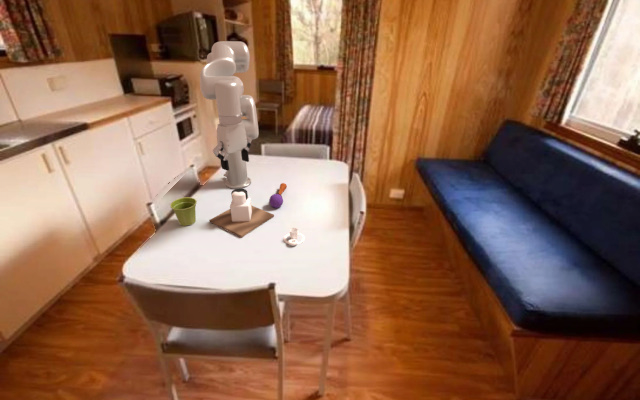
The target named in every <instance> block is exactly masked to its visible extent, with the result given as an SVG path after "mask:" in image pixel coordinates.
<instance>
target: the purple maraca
mask: <svg viewBox="0 0 640 400" xmlns="http://www.w3.org/2000/svg"><path fill="white" fill-rule="evenodd" d="M286 189H287V184H286V183H285V182H281V183H280V185H279V188H278V192H277V193H274V194H272V195H270V197H269V199H268V203H269V205H270V206H271V207H272V208H274V209H277V208H280V207H282V205H283V202H284V199H283V196H282V194H283V193H284V192H285V191H286Z"/></svg>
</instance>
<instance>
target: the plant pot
mask: <svg viewBox="0 0 640 400" xmlns="http://www.w3.org/2000/svg"><path fill="white" fill-rule="evenodd" d="M197 201H198V200H197V199H196V198H194V197H191V196H190V197H188V196H187V197H180V198H177V199H175V200H173V201H172V202H171V203H170V205H169V206H170V208H171V209H172V211H173V212H174V214H175V216H176V219H177V221H178V223H179V225H180V226H183V227H187V226H192V225H194V224H195V223H196V221H197V218H196V207H197V204H198V203H197Z"/></svg>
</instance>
